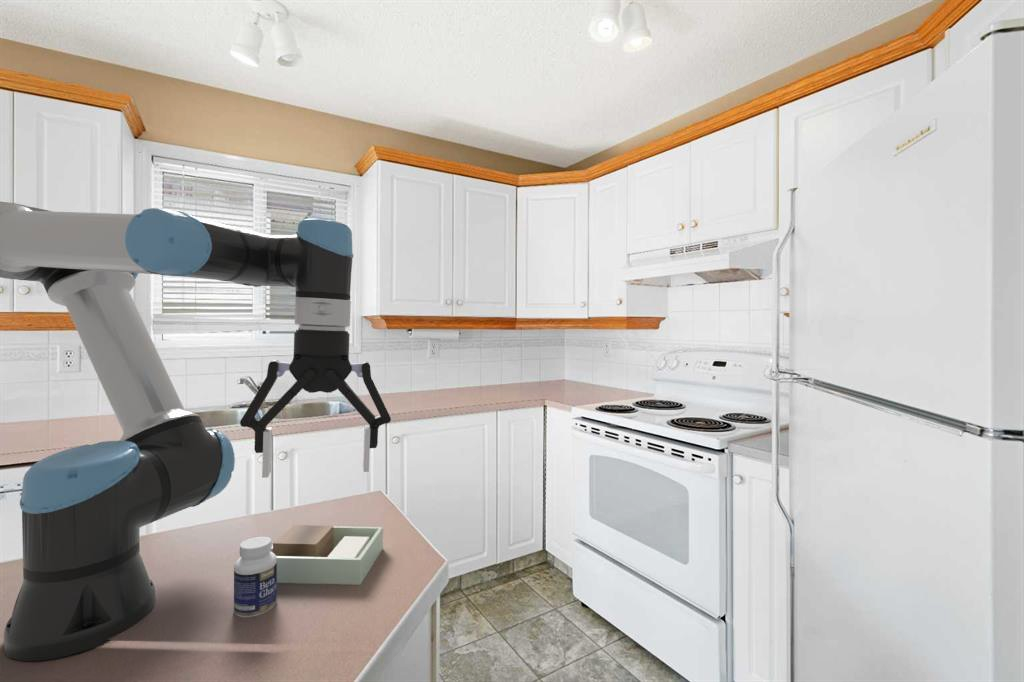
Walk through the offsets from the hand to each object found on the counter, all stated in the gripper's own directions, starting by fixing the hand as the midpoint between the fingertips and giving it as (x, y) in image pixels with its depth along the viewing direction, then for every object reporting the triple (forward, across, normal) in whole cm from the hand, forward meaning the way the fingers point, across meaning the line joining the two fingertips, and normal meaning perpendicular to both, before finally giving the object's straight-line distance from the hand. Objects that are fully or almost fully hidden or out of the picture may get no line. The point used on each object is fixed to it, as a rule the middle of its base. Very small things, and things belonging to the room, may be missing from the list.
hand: (317, 472), depth 70 cm
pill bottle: (+20, -8, -1) cm, 21 cm away
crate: (+19, +1, +9) cm, 21 cm away
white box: (+18, +5, +8) cm, 20 cm away
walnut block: (+19, -2, +10) cm, 21 cm away
